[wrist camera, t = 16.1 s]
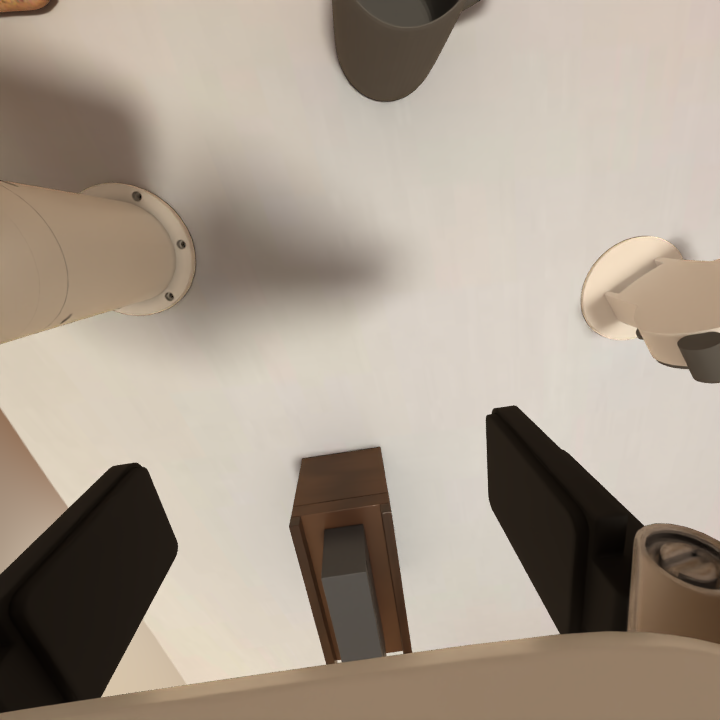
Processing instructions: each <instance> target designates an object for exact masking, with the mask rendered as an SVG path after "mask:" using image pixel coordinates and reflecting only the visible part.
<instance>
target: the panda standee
mask: <svg viewBox="0 0 720 720" xmlns="http://www.w3.org/2000/svg"><path fill="white" fill-rule="evenodd" d="M581 307H582V312H583V316H584V318H585V320H586V322H587V324H588V325H589V326H590V327H591V329H593V330H594V331H595V332H596V333H598V334H599V335H601V336H604V337H606V338H609V339H614V340H629V339H634V338H637V337H638V338H639V339H642V340H644V341H645V343H646V345H647V347H648V349H649V351H650V353H651V355H652V357H653V358H654V359H656V360H657V361H658V362H659V363H661V364H663V365H666V366H669V367H673V368H680V369H689V370H690V372H691V374H692V377H693V378H694V379H695V380H696V381H699V382H704V383H720V259H717V260H714V261H695V260H683V258H682V256H681V254H680V252H679V251H678V250H677V248H676V247H675V246H674V245H672V244H671V243H670V242H668V241H666V240H664V239H661V238H658V237H651V236H642V237H635V238H630V239H627V240H625V241H622V242H620V243H618V244H616V245H615V246H613V247H612V248H610V249H609V250H608V251H606V252H605V253H604V254H603V255H602V256H601V257H600V258H599V259H598V260H597V261H596V263H595V264H594V265H593V267H592V268H591V270H590V271H589V273H588V275H587V277H586V280H585V282H584V285H583V289H582V294H581Z"/></svg>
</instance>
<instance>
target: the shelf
mask: <svg viewBox="0 0 720 720" xmlns="http://www.w3.org/2000/svg"><path fill="white" fill-rule="evenodd" d="M358 524H363V525H364V530H365V536H366V541H367V547H368V552H369V558H370V563H371V569H372V574H373V580H374V585H375V591H376V596H377V601H378V607H379V612H380V618H381V623H382V629H383V634H384V640H385V647H386V653H390V652H397V651H403V654H407V653H412V649H411V642H410V635H409V628H408V621H407V615H406V608H405V601H404V594H403V588H402V581H401V574H400V567H399V560H398V554H397V547H396V540H395V533H394V526H393V520H392V513H391V507H390V501H389V495H388V489H387V483H386V477H385V472H384V466H383V460H382V454H381V448H380V447H377V448H370V449H364V450H357V451H350V452H344V453H337V454H330V455H324V456H317V457H310V458H304V459H302V463H301V468H300V473H299V479H298V484H297V489H296V494H295V499H294V504H293V510H292V515H291V520H290V525H289V528H290V532H291V536H292V539H293V543H294V547H295V550H296V554H297V558H298V561H299V565H300V569H301V572H302V576H303V580H304V583H305V587H306V591H307V594H308V598H309V602H310V606H311V609H312V613H313V617H314V620H315V624H316V628H317V631H318V635H319V639H320V642H321V646H322V650H323V653H324V657H325V661H326V665H328V664H335V663H337V660H341V656H340V652H339V648H338V644H337V640H336V636H335V632H334V628H333V624H332V620H331V616H330V612H329V608H328V604H327V600H326V596H325V592H324V588H323V584H322V580H321V572H322V558H323V544H324V530H325V529H331V528H338V527H345V526H352V525H358Z"/></svg>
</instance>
